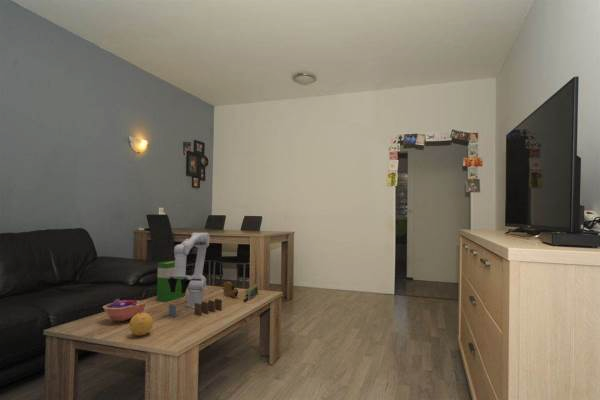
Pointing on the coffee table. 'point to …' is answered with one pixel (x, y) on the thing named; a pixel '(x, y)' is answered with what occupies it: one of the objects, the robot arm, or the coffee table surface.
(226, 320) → the coffee table surface
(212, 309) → the domino
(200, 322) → the coffee table surface
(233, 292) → the wooden carving
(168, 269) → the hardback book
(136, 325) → the stress ball
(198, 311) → the domino
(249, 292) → the handheld radio
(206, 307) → the domino
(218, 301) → the domino
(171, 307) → the domino
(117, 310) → the cell model
